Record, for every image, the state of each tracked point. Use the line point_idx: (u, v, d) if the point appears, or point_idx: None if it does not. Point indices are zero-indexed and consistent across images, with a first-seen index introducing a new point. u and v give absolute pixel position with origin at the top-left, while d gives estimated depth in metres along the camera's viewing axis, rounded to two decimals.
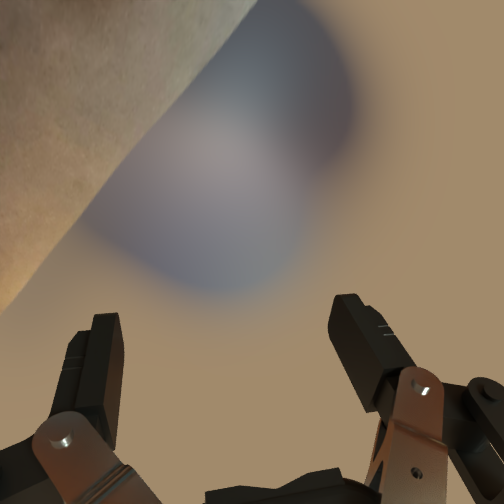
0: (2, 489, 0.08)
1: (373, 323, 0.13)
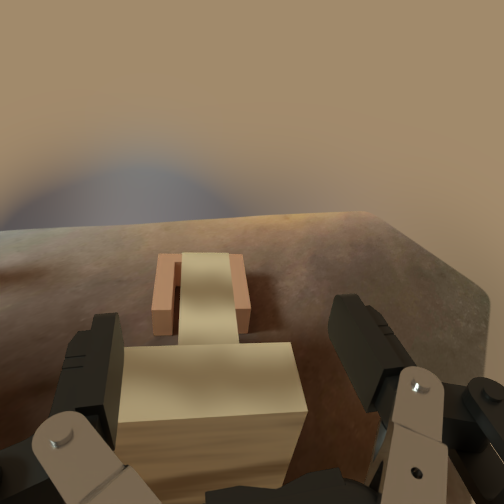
0: (2, 489, 0.08)
1: (373, 323, 0.13)
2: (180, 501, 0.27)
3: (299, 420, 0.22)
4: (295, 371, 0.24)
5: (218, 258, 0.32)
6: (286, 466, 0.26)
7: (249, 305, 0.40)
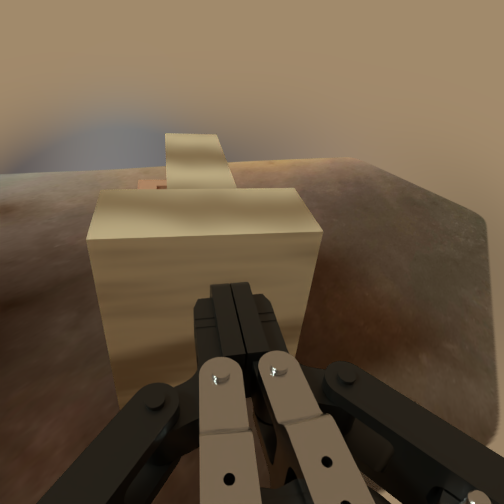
0: (172, 432, 0.09)
1: (254, 310, 0.13)
2: None
3: (313, 247, 0.19)
4: (303, 206, 0.21)
5: (206, 137, 0.29)
6: (298, 329, 0.22)
7: None
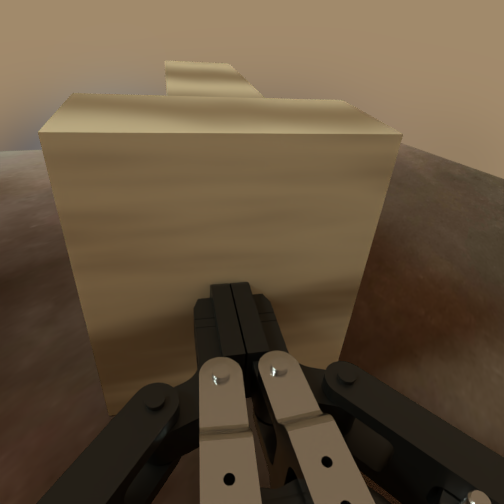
0: (172, 432, 0.09)
1: (254, 310, 0.13)
2: (188, 379, 0.17)
3: (386, 162, 0.13)
4: (363, 113, 0.14)
5: (216, 64, 0.23)
6: (353, 295, 0.16)
7: None
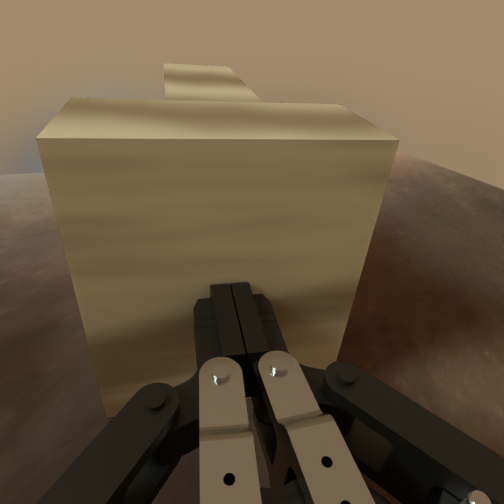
0: (172, 432, 0.09)
1: (254, 310, 0.13)
2: None
3: (382, 167, 0.13)
4: (360, 118, 0.14)
5: (215, 67, 0.23)
6: (350, 299, 0.16)
7: None
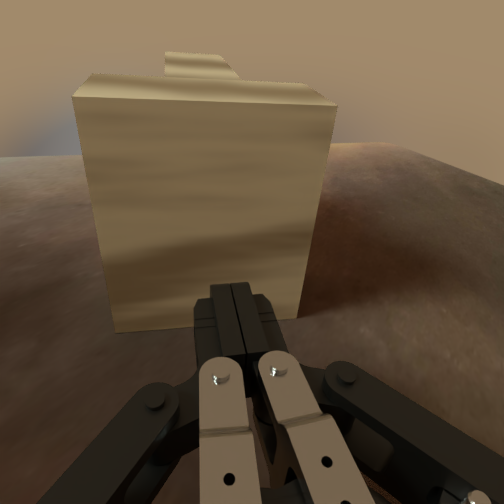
0: (172, 432, 0.09)
1: (254, 310, 0.13)
2: (178, 305, 0.21)
3: (326, 127, 0.17)
4: (315, 92, 0.19)
5: (208, 55, 0.27)
6: (309, 237, 0.20)
7: None
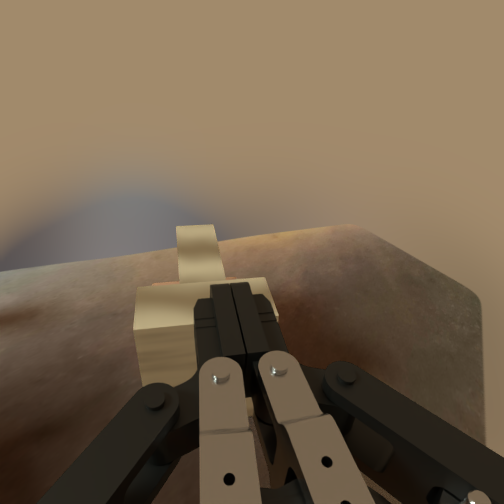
0: (172, 432, 0.09)
1: (254, 310, 0.13)
2: None
3: None
4: (269, 293, 0.31)
5: (205, 228, 0.40)
6: None
7: None
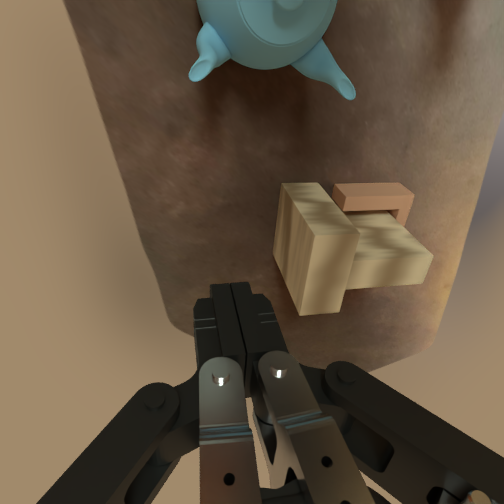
0: (172, 431, 0.09)
1: (254, 310, 0.13)
2: (281, 215, 0.49)
3: (297, 308, 0.44)
4: (321, 312, 0.44)
5: (419, 277, 0.44)
6: (284, 278, 0.49)
7: None
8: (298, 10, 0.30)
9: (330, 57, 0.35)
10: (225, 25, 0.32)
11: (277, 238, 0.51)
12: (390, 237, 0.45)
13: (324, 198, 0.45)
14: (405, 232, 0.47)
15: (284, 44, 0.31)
